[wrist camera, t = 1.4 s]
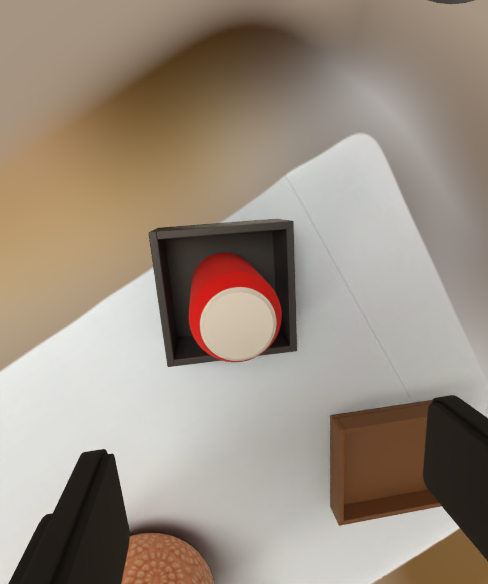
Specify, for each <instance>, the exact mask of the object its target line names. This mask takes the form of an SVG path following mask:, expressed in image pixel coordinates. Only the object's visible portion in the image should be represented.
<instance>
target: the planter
mask: <svg viewBox="0 0 488 584" xmlns="http://www.w3.org/2000/svg"><path fill="white" fill-rule="evenodd" d="M121 584H215V583H214V579H213V576H212V574H211V571H210V569H209V567H208V565H207V563H206V561H205V560H204V558H203V557H202V556H201V555H200V553H199V552H198V551H197V550H196V549H194V548H193V547H192V546H191V545H189V544H188V543H187V542H185V541H183V540H181V539H179V538H177V537H174V536H171V535H168V534H163V533H141V534H136V535H132V536H130V541H129V548H128V553H127V558H126V563H125V568H124V573H123V578H122V583H121Z"/></svg>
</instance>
